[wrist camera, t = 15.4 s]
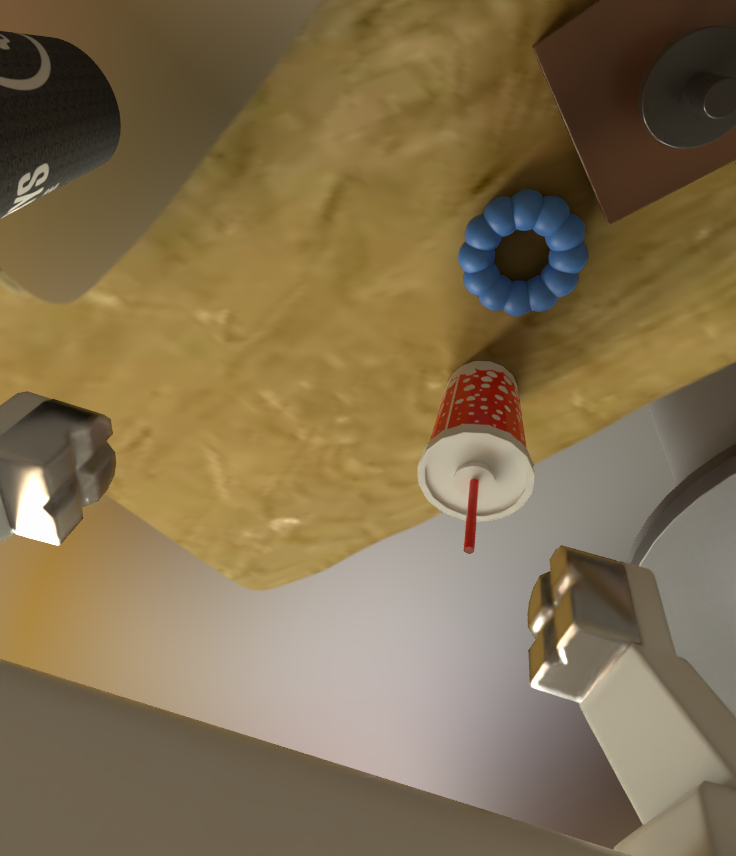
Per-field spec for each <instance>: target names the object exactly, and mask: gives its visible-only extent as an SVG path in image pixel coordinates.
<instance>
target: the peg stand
mask: <svg viewBox="0 0 736 856" xmlns="http://www.w3.org/2000/svg"><path fill="white" fill-rule="evenodd" d="M532 48H533V51H534V53H535V55H536V58H537V60H538V62H539V65H540V67H541V69H542V72H543V74H544V76H545V79H546V81H547V83H548V86H549V88H550V90H551V93H552V95H553V97H554V100H555V102H556V105H557V107H558V109H559V112H560V114H561V116H562V119H563V121H564V123H565V126H566V128H567V130H568V133H569V135H570V137H571V140H572V142H573V144H574V147H575V149H576V151H577V154H578V156H579V158H580V161H581V163H582V165H583V168H584V170H585V172H586V175H587V177H588V179H589V182H590V184H591V186H592V189H593V191H594V193H595V196H596V198H597V200H598V203H599V205H600V207H601V210H602V212H603V214H604V217H605V219H606V221H607V223H608V224H609V225H610V224H612V223H614V222H616V221H618V220H620V219H622V218H624V217H626V216H628V215H630V214H631V213H633V212H635V211H637V210H639V209H641V208H643V207H645V206H647V205H649V204H651V203H653V202H655V201H657V200H659V199H661V198H663V197H664V196H666V195H668V194H670V193H672V192H674V191H676V190H678V189H680V188H682V187H684V186H686V185H688V184H690V183H692V182H694V181H696V180H697V179H699V178H701V177H703V176H705V175H707V174H709V173H711V172H713V171H715V170H717V169H719V168H721V167H723V166H725V165H727V164H729V163H730V162H732V161H734V160H736V0H597V1H595V2H594V3H592V4H591V5H589V6H588V7H587V8H585V9H584V10H582V11H581V12H580V13H578V14H577V15H575V16H574V17H572V18H571V19H570V20H568V21H567V22H565V23H564V24H563V25H561V26H560V27H558V28H557V29H555V30H554V31H553V32H551V33H550V34H548V35H547V36H545V37H544V38H543V39H541V40H540V41H538V42H537V43H536V44H534V45H533V46H532Z"/></svg>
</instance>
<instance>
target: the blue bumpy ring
mask: <svg viewBox="0 0 736 856" xmlns="http://www.w3.org/2000/svg"><path fill="white" fill-rule="evenodd" d="M516 229H518V230H522V231H527V230H531V229H533V230H534V231H535V232H536V233H537V234H538V235H541V236H544V237H545V240H546V243H547V245H548V247H549V248H550V249H551V250H550V252H549V263H548V264H547V265H546V266H545V267H544V268H543V270H542V272H541V275H537V276H534V277H532V278H531V279H529V280H528V281H527V282H526V281H522V280H516V281H512V282H511V280H510V279H509V278H507V277H506V276H504V275H500V273H499V270H498V268H497V266H496V265H495V264H494V260H495V249H496V248H497V247H498V245H499V244H500V242H501V240H502V237H504V236H508V235H510V234H511V233H513V232H514V231H515V230H516ZM585 233H586V230H585V225H584V223H583V221H582V220H581V218H580V217H578V216H577V215H575V214H571V213H570V209H569V206H568V204H567V203H566V201H565V200H564V199H562V198H560V197H558V196H553V195H550V196H545V197H543V196H542V195H541V194H540V193H539V192H537V191H535V190H531V189H525V190H521V191H519V192H517V193H516V194H514V195H513V196H512V197H511V198H510V197H507V196H500V197H497V198H495V199H493V200H491V201H490V202H489V203H488V204H487V205H486V207H485V209H484V211H483V214H481V215H478V216H476V217H474V218H473V219H472V220H471V221H470V222H469V223H468V225H467V227H466V230H465V240H466V242H464V244H463V245H462V246H461V248H460V250H459V254H458V260H459V264H460V266H461V267H462V269H463V270H464V271H465V272H464V277H463V279H464V284H465V287H466V288H467V290H468V291H469V292H471V293H472V294H474V295H478V296H479V299H480V302H481V303H482V305H483V306H484V307H486V308H487V309H489V310H493V311H498V310H502V309H503V310H504V311H505V312H506V313H507V314H509V315H511V316H523V315H525V314H527V313H528V312H530V311H531V310H533V311H537V312H542V311H546V310H548V309H550V308H552V307H553V306H554V305H555V303H556V302H557V300H558V298H559V297H562V296H565V295H568V294H569V293H571V292H572V291H573V290H574V288H575V287H576V285H577V283H578V278H579V276H578V272H579V271H581V270H582V269H583V268H584V266H585V265H586V263H587V260H588V249H587V246H586V245H585V243H584V242H583V240H584V238H585Z"/></svg>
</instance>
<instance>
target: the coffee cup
mask: <svg viewBox="0 0 736 856" xmlns="http://www.w3.org/2000/svg"><path fill="white" fill-rule="evenodd" d="M119 137H120V114H119V109H118V105H117V101H116V98H115V96H114V93H113V91H112V88H111V86H110V84H109V82H108V81H107V79H106V77H105V76H104V74H103V73H102V71H101V70H100V69H99V67H98V66H97V65H96V64H95V62H94V61H92V59H91V58H90V57H89V56H88V55H87V54H85V53H84V52H83V51H82V50H80V49H79V48H77V47H75V46H74V45H73V44H71V43H68V42H66V41H64V40H61V39H57V38H52V37H44V36H36V35H28V34H20V33H12V32H3V31H0V219H1V218H3V217H5V216H7V215H8V214H10V213H12V212H14V211H16V210H18V209H20V208H21V207H23V206H25V205H27V204H29V203H31V202H33V201H35V200H36V199H38V198H40V197H42V196H44V195H46V194H48V193H50V192H52V191H53V190H55V189H57V188H59V187H61V186H63V185H65V184H67V183H68V182H71V181H72V180H74V179H76V178H78V177H80V176H82V175H84V174H86V173H87V172H89V171H91V170H93V169H95V168H97V167H99V166H101V165H102V164H104V163H105V162H107V161H108V160H109V159H110V158H111V156H112V155H113V154H114V152H115V150H116V147H117V145H118V142H119Z"/></svg>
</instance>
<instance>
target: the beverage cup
mask: <svg viewBox="0 0 736 856" xmlns="http://www.w3.org/2000/svg"><path fill="white" fill-rule="evenodd" d="M533 465H534V464H533V462H532V460H531V458H530V455H529V453H528V451H527V448H526V442H525V435H524V428H523V421H522V414H521V407H520V400H519V393H518V386H517V384H516V382H515V379H514V377H513V375H512V374H511V373H510V372H509V371H508V370H507V369H506V368H504V367H503V366H501V365H499V364H496V363H493V362H491V361H474V362H471V363H468V364H465V365H462V366H461V367H460V368H458V369H457V370H456V371H455V372H454V373H453V374H452V375H451V377H450V379H449V381H448V384H447V386H446V390H445V393H444V396H443V399H442V403H441V406H440V409H439V413H438V416H437V419H436V422H435V426H434V429H433V432H432V436H431V439H430V441H429V442H428V443H427V445H426V447H425V449H424V451H423V453H422V455H421V457H420V461H419V463H418V484H419V486H420V488H421V490H422V491H423V493H424V495H425V497H426V499H427V500H428V501H429V502H430V503H432V504H433V505H434V506H435V507H437V508H438V509H439V510H440V511H442V512H443V513H446V514H449V515H451V516H454V517H456V518H459V519H462V520H466V531H465V542H464V552H466V553H468V554H471V553H473V552H474V544H475V530H476V521H482V522H485V521H490V520H495V519H499V518H504V517H506V516H508V515H510V514H511V513H513V512H515V511H516V510H518V509H520V508H521V507H523V505H524V504H525V502H526V501H527V499H528V498H529V497H530V495H531V494H532V492H533V485H534V475H535V474H534V469H533Z"/></svg>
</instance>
